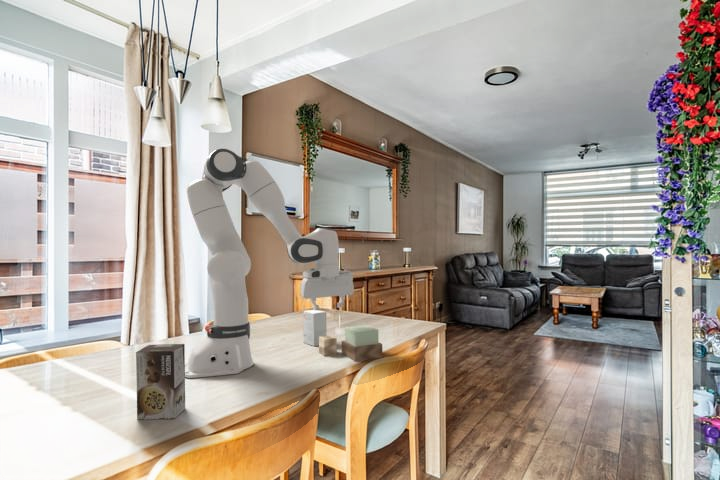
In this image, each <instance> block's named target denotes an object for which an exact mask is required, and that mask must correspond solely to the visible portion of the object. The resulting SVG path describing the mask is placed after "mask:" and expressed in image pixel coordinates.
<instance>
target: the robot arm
mask: <svg viewBox="0 0 720 480" xmlns="http://www.w3.org/2000/svg"><path fill="white" fill-rule="evenodd" d="M203 165H204V166H203V172H202V177H201V178H199V179H196V180H193V181H192V182H191V183H190V184H188V185H187V187H186V188H187V189H186V193H187V200H188V204H189V209H190V212H191V215H192V217H193V220H194V222H195V225H196V227H197V230H198V232H199V235H200V238H201V240H202V241H203V243H204V244H205V245H206V247H207V248H208V250H209V252H210V253H211V258H210V259H209V260H208V263H207V268H206V269H207V274H208V275H209V281H210V283H209V284H210V287H211V288H210V289H211V294H212V301H213V324H211V325H210V324H206V325H205V326H204V330H205V332H206V334H207V335H206V337H205V338H204V339H203V340H201V341H200V342H199V343H198V344H196V345H195V346H194V347H193V348H192V349H191V350H190V353H189V355H188V361H187V363H185V379H186V378H187V379H195V378H196V379H197V378H206V377H215V376H226V375H236V374H239V373H241V372H243V371H245V370H246V369H249V368H251V367H252V366H253V365H254V360H253V357H252V351H251V346H250V345H251V344H250V337H251V325H250V324H251V323H250V321H249V296H248V292H247V286H246V276H248V274H249V273H250V270H251V267H252V262H251V258H250V256H249V254H248V252H247V249H246V248H245V245H244V243H243V242H242V239H241V238H240V235H239V234H238V232H237V229H236V228H235V225H234V223H233V220H232V217H231V215H230V214H231V213H230V212H229V208H228V207H227V204H226V202H225V200H224V197H223V192H225V191H226V190H229V188H230V187H231V186H232V185H236V186H237V187H239V188H240V189H242V191H244V193H245V195H246V196H247V198H248V199H249V201H250V202H251V203H252V204H253V206H254V208H256V209H257V211H259V212H260V213H261V214H262V215H263V216H264V217H265V218H266V219H267V220H268V221H270V222H271V224H272V225H273V226H274V227H275V229H276V231H277V232H278V234H279V235H280V237H281V238H282V240H283V242H284V244H285V246H286V252H287V256H288V257H289V259H290V260H291V261H292V262H294V263H295V264H300V265H301V264H302V265H304V264H305V265H306V264H309V263H312V262H314V265H315V266H314V267H312V268H310V269H307V270H305V271H303V272H302V276H303V277H304V278H302V280H301V284H300V296H301V298H302V299H304V300H308V299H309V300H310V302H311V304H312V306H313V310H315V311H316V310H320V305H318V304H317V303H316V302H317V299H321V298H330V297H331V298H332V297H339V301H338V302H336V307H337V308H338V309H342V308H343V306H344V305H343V304H344V301H345V299H346V296H352V295H353V294H354V292H355V287H354V281H353V280H354V275H353V272H352V271H350V270H348V269H347V270H340V260H339V253H340V250H339V249H340V245H339V243H340V242H339V237H338V233H337V232H336V230H334V229H331V228H326V227H318V228H316V229H314V230H313V231H312V232H310V233H308V234H305V235H303V236H302V234H301V233H299V231H298V230H297V228H296V226H295V225H294V223H293V222H292V220H291V218H290V217H289V216H288V212H287V209H286V204H285V203H286V201H285V197H284V195H283V192H282V191H281V188H280V186H279V185H278V184H277V182H276V180H275V179H274V178H273V176H272V175H271V174H270V173H269V171H268V170H267V168H265V166H263V165H262V164H261V163H260V162H259V161H258V160H248V161H246V160H245V159H244V158H243V157H241V156H239V155H238V154H236V153H235V152H234V151H233V150H230V149H228V148H218V149H217V148H216V149H215V150H214V151H212V152H211V153H210V154H209V155H208V156H207V159H206V161H205V163H204V164H203Z"/></svg>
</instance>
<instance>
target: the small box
mask: <svg viewBox="0 0 720 480" xmlns="http://www.w3.org/2000/svg"><path fill="white" fill-rule="evenodd" d="M302 323H303V327H302V328H303V343H304V344H307V345H310V346H312V347H317V346H318V347H319V337H321V336H328V335H327V334H328V333H327V311H323V310H320V309H319V310H316V311H315V310H314V309H311V310H310V309H309V310H303V321H302Z"/></svg>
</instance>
